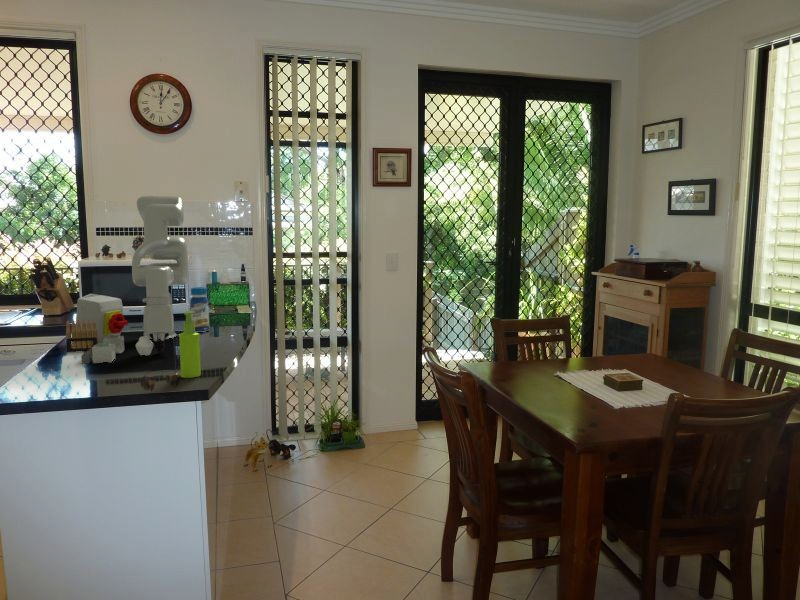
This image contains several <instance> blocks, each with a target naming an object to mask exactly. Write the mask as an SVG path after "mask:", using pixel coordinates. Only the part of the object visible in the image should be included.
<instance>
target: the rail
mask: <svg viewBox="0 0 800 600" xmlns="http://www.w3.org/2000/svg"><path fill="white" fill-rule="evenodd" d="M124 351H125V338H124V335H121V334H120V335H108V336H107V337H105V338H104V339H103V343H97V344H96V345H94V346H93V347H92V348H90V349H89V350H88V351H84V352H83V354H81V355H80V357H81V358H80V360H81V365H88V364H89V363H90V362H91V363H92V364H100V363H101V364H103V362H108V363H113V362H114V361H115V360H116V354H122V353H123V352H124ZM114 359H115V360H114ZM113 360H114V361H113ZM112 361H113V362H112ZM83 363H84V364H83ZM86 363H87V364H86ZM91 363H90V364H91Z"/></svg>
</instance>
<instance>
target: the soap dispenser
mask: <svg viewBox="0 0 800 600" xmlns="http://www.w3.org/2000/svg"><path fill="white" fill-rule="evenodd" d="M192 313H195V311H190V310H186V311H185V312H184V313H183V315H184V316H185V321H184V322H183V323H182V326H183V332H181V333H180V334H179V335H178V337H179V360H180V361H179V362H180V365H179V366H180V377H181V378H183V379H185V378H186V379H188V378H189V379H191V378H193V379H194V378H197V377H200V376H202V374H201V373H202V371H201V370H202V369H201V343H200V333H196V332H195V323H194V322H193V321H192Z"/></svg>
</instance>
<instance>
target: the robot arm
mask: <svg viewBox="0 0 800 600" xmlns="http://www.w3.org/2000/svg"><path fill="white" fill-rule="evenodd" d="M136 208H137V211H138V214H139V215H140V217H141V219H142V222H143V242H142V243H141V244H140V245H139V246H137V248H136V249H135V251H134V253H133V256H132V260H131V277H132V282H133V284H134V285H136V286H137V287H145V288H146V290H145V291H146V297H145V298H142V301H141V302H142V303H146V305H144V308H143V316H142V317H143V318H142V319H143V321H142V322H143V323H142V325H143V336H147V337H149V338H150V339H153V340H152V341H154V349H155V350H156V351H157V353H159V352H161V353H162V352H163V350H165V340H170V339H169V338H172V339H175V338H174V337H176V336H177V337H178V334H177V333H176V331H175V323H174V322H175V320H174V319H175V318H174V312H173V305H172V303H173V300H172V294H171V292H169V290H170V289H169V286H170V287H171V286H172V287H173V286H184V285H187V283H188V282H189V276H190V275H189V257H188V256H189V254H188V244H187V241H186V240H185V238H183V237H179V236H174V237H173V236H171V237H170V236H169V234H168V232H169V231H168V229H169V228H168V227H181V226H182V225H183V223H184V219H185V210H184V202H183V200H182V198H181V197H179V196H174V195H173V196H171V195H168V196H167V195H143V196H139V197H138V198H137V199H136ZM146 256H147V257H148V258H149V259H150V260H154V261H176V262H160V263H159V262H154V263H150V264H147V265H141V261H142V259H143V258H144V257H146ZM177 337H176V338H177ZM159 339H160V340H159Z"/></svg>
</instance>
